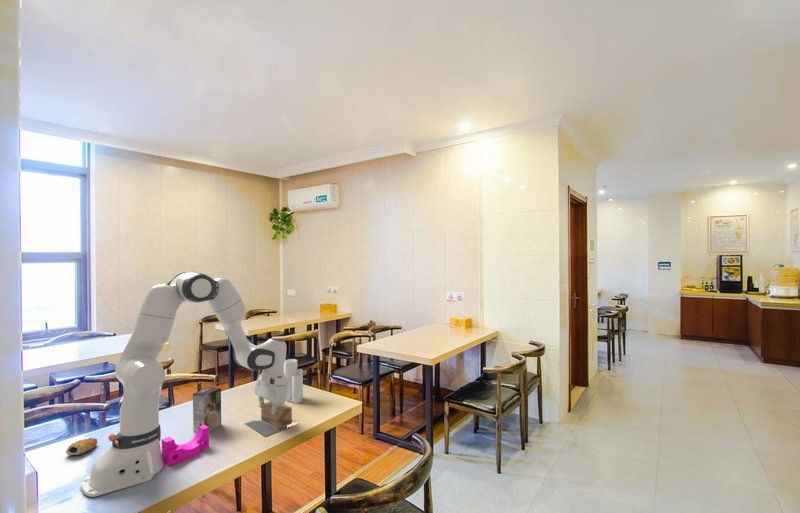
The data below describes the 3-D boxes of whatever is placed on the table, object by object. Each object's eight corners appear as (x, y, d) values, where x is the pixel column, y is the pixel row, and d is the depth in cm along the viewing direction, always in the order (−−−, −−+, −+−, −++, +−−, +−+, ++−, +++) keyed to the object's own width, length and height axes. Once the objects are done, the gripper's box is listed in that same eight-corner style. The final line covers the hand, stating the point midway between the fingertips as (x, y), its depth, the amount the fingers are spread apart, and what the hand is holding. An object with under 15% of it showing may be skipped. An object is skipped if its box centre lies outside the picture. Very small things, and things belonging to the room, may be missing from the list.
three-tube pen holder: (281, 401, 192) (280, 361, 192) (291, 397, 198) (291, 358, 198) (297, 406, 186) (297, 364, 186) (308, 401, 192) (307, 361, 192)
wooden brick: (276, 429, 160) (276, 412, 160) (261, 420, 168) (261, 404, 168) (291, 423, 165) (291, 407, 165) (275, 415, 174) (275, 400, 174)
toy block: (169, 466, 133) (168, 444, 133) (161, 460, 137) (161, 439, 137) (212, 448, 145) (212, 429, 145) (204, 444, 149) (204, 424, 149)
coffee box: (210, 423, 167) (209, 386, 167) (221, 425, 165) (221, 387, 165) (192, 432, 158) (192, 393, 158) (204, 434, 156) (204, 394, 156)
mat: (265, 437, 153) (265, 436, 153) (244, 424, 165) (244, 423, 165) (326, 414, 176) (326, 413, 176) (303, 404, 188) (303, 403, 188)
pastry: (87, 443, 149) (86, 433, 149) (103, 443, 148) (102, 433, 148) (63, 456, 140) (63, 445, 140) (81, 456, 139) (80, 445, 139)
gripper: (253, 372, 170) (248, 404, 168) (277, 382, 156) (272, 417, 154) (266, 371, 175) (261, 403, 173) (291, 381, 161) (286, 415, 159)
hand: (267, 410), depth 164 cm, fingers open, 8 cm apart
